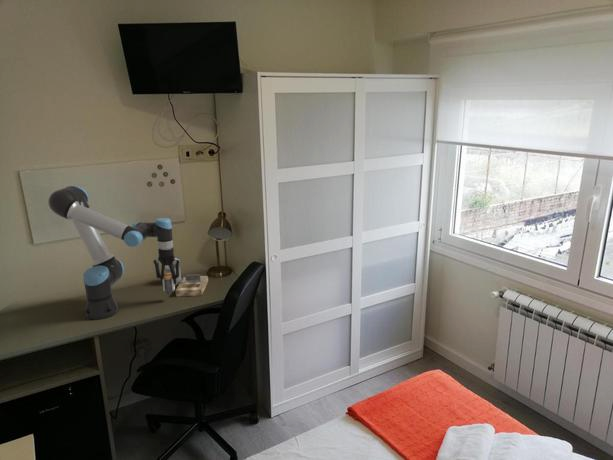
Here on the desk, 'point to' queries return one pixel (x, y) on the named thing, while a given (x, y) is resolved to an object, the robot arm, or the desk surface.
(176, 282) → the cup
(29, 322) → the desk surface
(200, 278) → the shutter
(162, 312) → the desk surface
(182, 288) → the socket board
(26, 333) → the desk surface
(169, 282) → the orange grey cylinder
